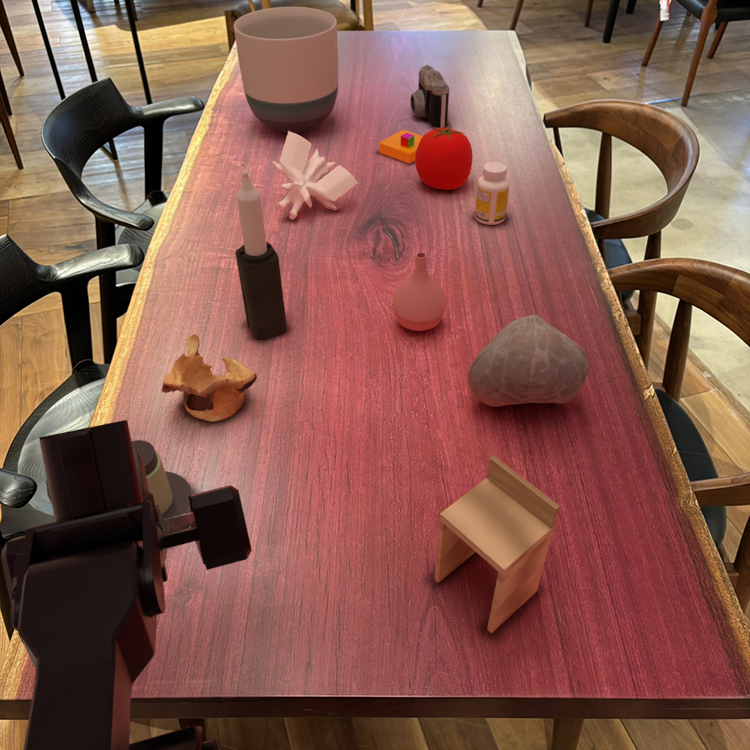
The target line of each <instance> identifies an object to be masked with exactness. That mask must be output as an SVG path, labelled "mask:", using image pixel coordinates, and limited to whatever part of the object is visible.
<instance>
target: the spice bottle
mask: <svg viewBox="0 0 750 750" xmlns="http://www.w3.org/2000/svg"><path fill="white" fill-rule="evenodd" d="M131 441H132V446H133V447H134V448H135V449H136V450H137V452H138V453H139V455H140V457H141V458H142V460H143V461H144V465H145V472H146V478H147V484H148V489H149V492H150V493H152V494H153V497H154V502H155V505H157V504H159V509H160V513H161V515H162V514H163V513H165V512H166V511H167V510H168V509H169V507H170V506H171V504H172V501H173V494H172V491H171V488H170V485H169V482H168V479H167V476H166V473H165V471H166V470H165V468H164V464H163V462H162V458H161V455H160V454H159V452H158V451H156V449H155V447H154V445H153V444H152V443H150V442H149V441H147V440H142V439H136V440H135V439H134V440H131Z"/></svg>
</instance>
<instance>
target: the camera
mask: <svg viewBox="0 0 750 750" xmlns="http://www.w3.org/2000/svg"><path fill="white" fill-rule="evenodd" d="M417 88H418V89H416V90H415V91H414V92H413V93H411V94H410V109H411V112H412V114H413V115H415V116H417V117H419V118H422V119H426V120H427V122H428V123H429V124H430V126H431V128H432V129H436V128H448V115H449V98H450V86H449V85H448V83H447V82H446V80H445V78H444V77H443V76H442V74H441V72H440V71H438V70H436V69H434V67H433V66H431V65H429V64H426V65H423V66H421V67H420V69H419V70H418V87H417Z"/></svg>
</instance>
